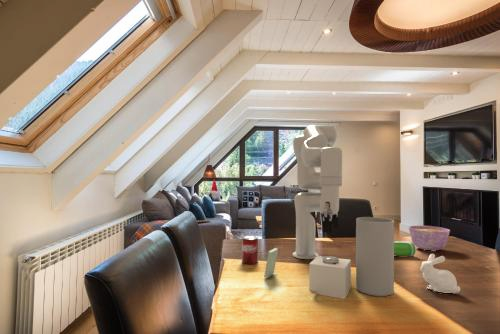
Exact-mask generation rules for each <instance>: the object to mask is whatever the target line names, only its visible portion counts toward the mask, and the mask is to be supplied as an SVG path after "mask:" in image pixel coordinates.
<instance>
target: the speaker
mask: <svg viewBox="0 0 500 334" xmlns="http://www.w3.org/2000/svg"><path fill="white" fill-rule="evenodd" d="M415 254H416V246H415V245H414V244H413V242H410V241H406V240H404V241H403V240H402V241H400V240H398V241H397V240H394V255H396V256H409V257H413V256H415Z"/></svg>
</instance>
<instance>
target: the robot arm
mask: <svg viewBox="0 0 500 334" xmlns="http://www.w3.org/2000/svg"><path fill="white" fill-rule="evenodd" d="M302 133H303V134H302V135H297V136H295V137H294V138H293V141H292V147H293V148H292V149H293V152H294V155H295V158H296V164H297V167H296V169H297V172H296V173H297V177H296V179H297V180H296V181H297V186H298V188H299V189H300V190H304V191H305V190H307V191H308V190H309V191H312V190H314V191H315V190H316V191H317V190H318V191H319V192H307V191H305V192H303V191H302V192H299V193H297V194H296V195H295V196H294V201H293V202H294V209H295V251H294V252H292V256H293V257H294V258H296V259H301V260H314V259H315V258H316V257H317V256H319V253H318V252H316V219H315V218H314V216H313V215H312V214H311V213H314V212H315V213H319V212H320V214H321V215H322V233H327V234H332V233H333V229H338V227H339V214H338V212H339V210H340V187H342V186H343V150H342V148H340V147H337V146H334V145H335V143H336V140H337V131H336V128H335V127H334V126H332V125H329V124H328V125H326V124H324V125H323V124H311V125H309V126H306V127H305V128H304V130H303V132H302ZM315 168H320V170H315Z"/></svg>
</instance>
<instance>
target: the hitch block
mask: <svg viewBox="0 0 500 334" xmlns="http://www.w3.org/2000/svg"><path fill="white" fill-rule="evenodd" d="M323 257H325V256H321V255H318V256H317V257H316V258H315V259H312V261H310V263H308V264H309V270H308V271H309V274H308V276H309V277H308V279H309V280H308V282H309V283H308V285H309V286H308V287H309V289H308V290H309V291H313V294H315V295H319V296H325V297H331V298H337V299H342V300H345V299H346V298H347V296H348V294H349V292H350V289H351V288H352V287H351V285H352V283H351V282H352V281H351V279H352V274H351V273H352V259H348V258H347V259H346V258H340V257H338V258H339V263H337V264H328V263H324V262H323V261H322V258H323Z"/></svg>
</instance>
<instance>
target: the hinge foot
mask: <svg viewBox="0 0 500 334" xmlns="http://www.w3.org/2000/svg"><path fill="white" fill-rule="evenodd" d="M277 276H278V274H277V273H276V274H275V273H273V274H272V275H271V276H269V277H268V278H266V280H270V281H271V280H273V279H274V278H276V277H277Z"/></svg>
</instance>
